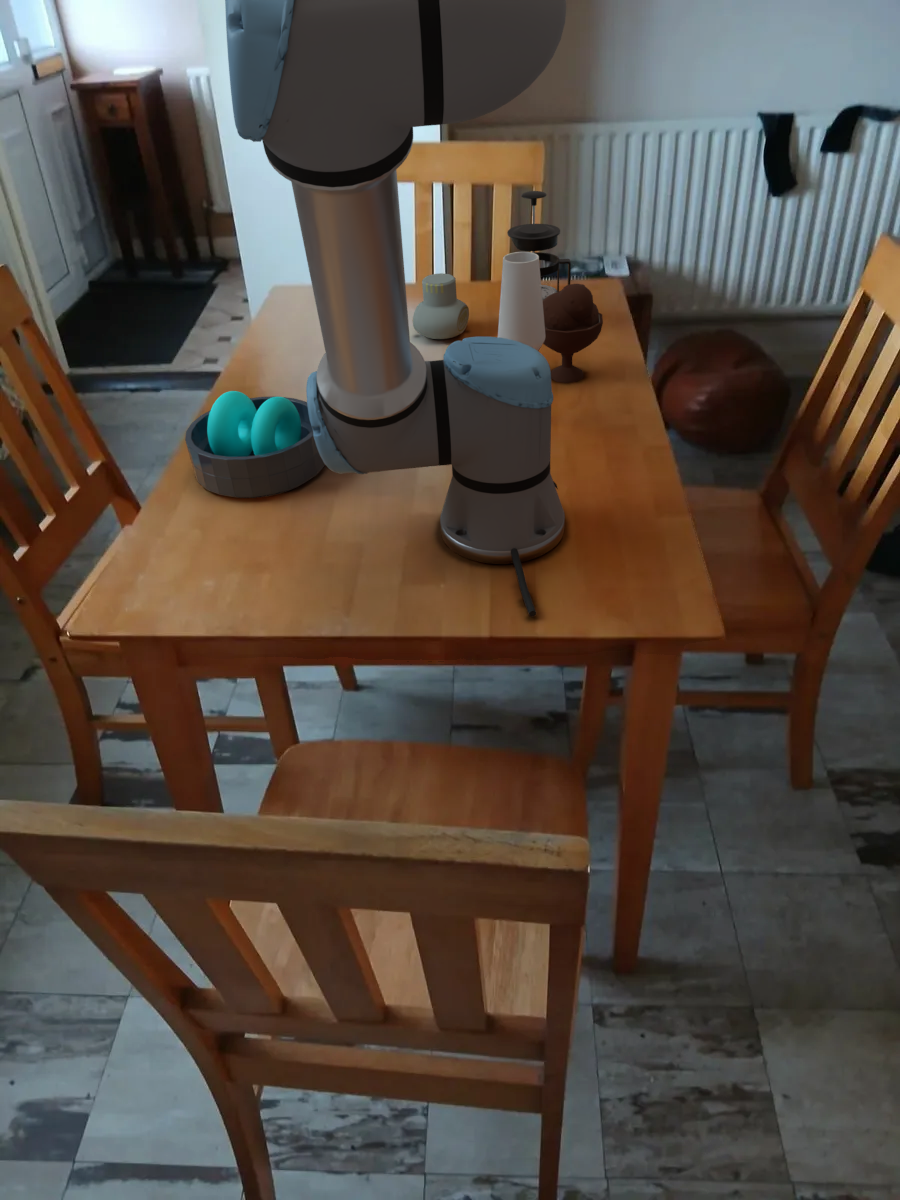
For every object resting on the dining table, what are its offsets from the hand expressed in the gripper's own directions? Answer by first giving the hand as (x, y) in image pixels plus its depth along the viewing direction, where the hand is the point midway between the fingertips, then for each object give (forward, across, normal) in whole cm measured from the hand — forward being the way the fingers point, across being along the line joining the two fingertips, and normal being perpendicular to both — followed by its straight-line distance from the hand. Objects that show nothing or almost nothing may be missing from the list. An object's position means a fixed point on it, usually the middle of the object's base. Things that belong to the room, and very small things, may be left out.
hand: (369, 243), depth 118 cm
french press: (+27, -38, +22) cm, 51 cm away
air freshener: (+27, -36, +5) cm, 45 cm away
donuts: (+26, +12, -16) cm, 33 cm away
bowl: (+27, +12, -16) cm, 34 cm away
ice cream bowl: (+27, -17, +27) cm, 42 cm away
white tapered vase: (+27, -1, +20) cm, 34 cm away
